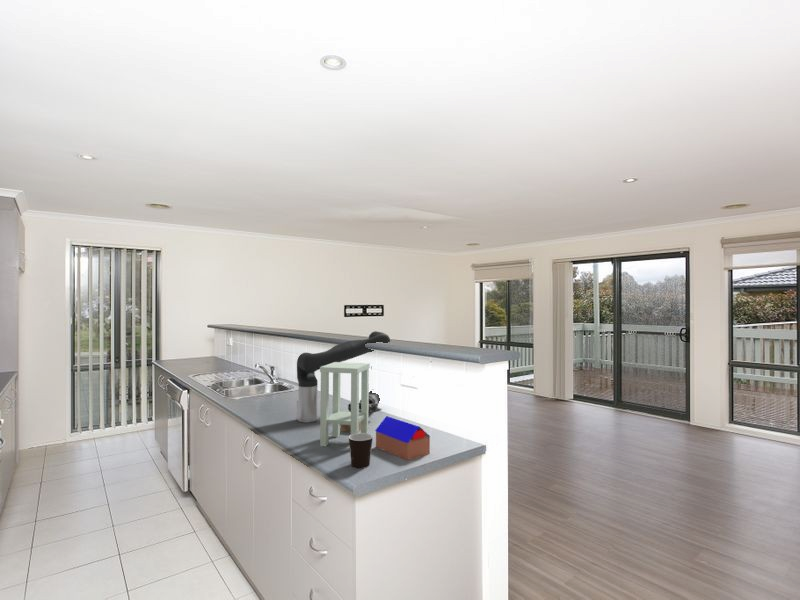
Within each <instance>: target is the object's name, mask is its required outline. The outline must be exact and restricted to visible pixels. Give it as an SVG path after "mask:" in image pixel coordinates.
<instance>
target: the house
mask: <svg viewBox="0 0 800 600" xmlns="http://www.w3.org/2000/svg"><path fill="white" fill-rule="evenodd" d="M374 431H375V448H377V447H378V449H379V450H382V449H383V450H382V451H384V450H385V451H384V452H387V453H389V454H391V455H394V456H397V457H399V458H401V459H403V460H405V461H410V460H413V459H416V458H420V457H423V456H425V455H426V456H427V455H430V453H431V452H430V450H431V449H430V442H431V441H430V440H431V439H430V438H431V436H430V435H429V434H428V433H427V432H426V431H425V430H424V429H423V428H421V426H419V425H415V424H413V423H409V422H406V421H403V420H400V419H397V418H394V417H390V416H385V418H383V420H382V421H381V423H380V424H379V425H378V427H376V429H375V430H374Z"/></svg>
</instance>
